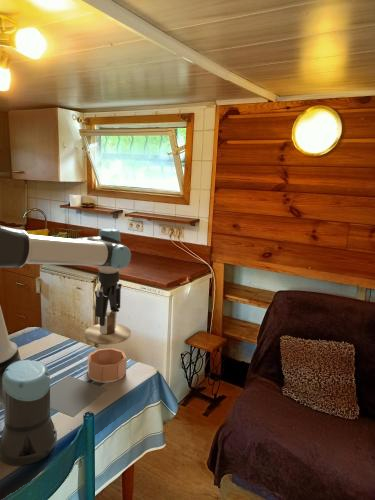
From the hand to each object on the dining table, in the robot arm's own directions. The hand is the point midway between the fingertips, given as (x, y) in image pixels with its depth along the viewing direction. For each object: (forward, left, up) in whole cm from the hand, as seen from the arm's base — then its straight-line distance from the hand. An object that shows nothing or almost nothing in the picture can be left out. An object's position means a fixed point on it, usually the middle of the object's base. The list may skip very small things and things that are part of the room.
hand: (107, 330), depth 140 cm
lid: (0, 0, -2) cm, 2 cm away
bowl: (0, 0, -18) cm, 18 cm away
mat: (-18, +2, -18) cm, 25 cm away
